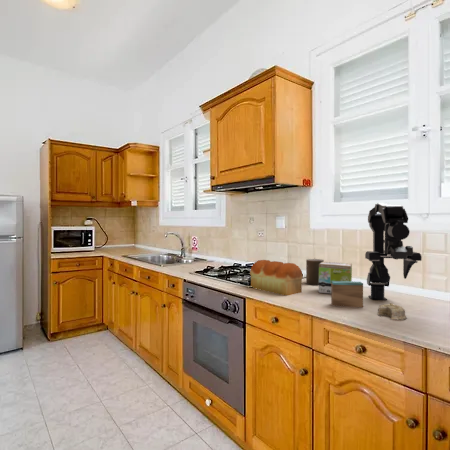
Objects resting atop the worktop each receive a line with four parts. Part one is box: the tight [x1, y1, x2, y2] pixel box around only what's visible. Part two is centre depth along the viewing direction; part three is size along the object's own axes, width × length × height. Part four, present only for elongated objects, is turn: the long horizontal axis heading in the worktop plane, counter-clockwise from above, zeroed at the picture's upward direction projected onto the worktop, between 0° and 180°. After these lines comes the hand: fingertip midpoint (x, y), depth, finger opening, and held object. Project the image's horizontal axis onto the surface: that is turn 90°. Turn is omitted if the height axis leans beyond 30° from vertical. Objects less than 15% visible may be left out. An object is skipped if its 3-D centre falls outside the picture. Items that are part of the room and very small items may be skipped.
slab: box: [330, 281, 364, 308], centre depth 136 cm, size 4×12×10 cm, turn 82°
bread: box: [249, 259, 304, 296], centre depth 166 cm, size 25×12×15 cm, turn 40°
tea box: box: [317, 261, 353, 294], centre depth 161 cm, size 15×10×15 cm
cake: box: [376, 302, 407, 321], centre depth 121 cm, size 10×10×5 cm
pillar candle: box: [305, 258, 325, 286], centre depth 183 cm, size 10×10×15 cm
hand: (392, 278), depth 124 cm, fingers open, 9 cm apart
